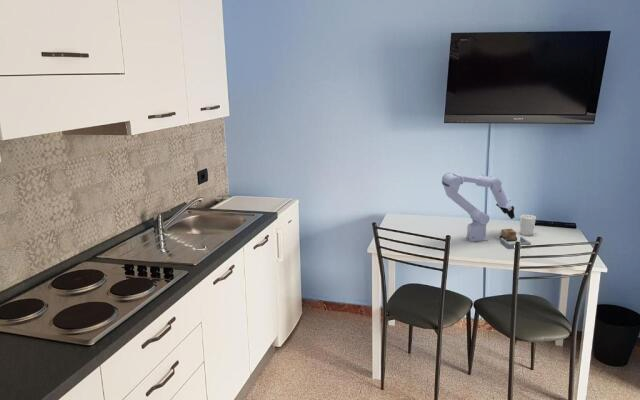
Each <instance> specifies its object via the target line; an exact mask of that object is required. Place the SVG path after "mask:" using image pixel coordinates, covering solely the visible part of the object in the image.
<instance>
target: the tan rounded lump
mask: <svg viewBox="0 0 640 400" xmlns="http://www.w3.org/2000/svg"><path fill="white" fill-rule="evenodd" d="M498 238H499V240H500V239H501V238H503V239H504V240H506V241H517V240H518V237H517V231H516V230H515V229H513V228H502V229H501V230H500V234H499V237H498Z"/></svg>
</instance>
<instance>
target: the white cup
mask: <svg viewBox="0 0 640 400" xmlns="http://www.w3.org/2000/svg"><path fill="white" fill-rule="evenodd" d="M536 220H537V217H536V216H535V215H532V214H521V215H520V220H519V229H520V231H519V234H520V235H522V236H532V235H534V230H535V224H536Z"/></svg>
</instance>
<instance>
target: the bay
mask: <svg viewBox="0 0 640 400" xmlns="http://www.w3.org/2000/svg"><path fill="white" fill-rule="evenodd" d="M499 241H500V244H502V245H503V246H504V247H505V248H507V249H509V250H512V249H514V245H515V243H516V242H515V243H514V242H513V243H512V242H511V243H509V242H508V240H504V239H503V238H501V239H500V238H499ZM520 241H521V242H520ZM519 242H520V243H521V245H532V243H531V242H530V241H528V240H527V239H526V238H525V237H523V236H520V240H519ZM514 250H515V249H514Z"/></svg>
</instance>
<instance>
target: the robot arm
mask: <svg viewBox="0 0 640 400" xmlns="http://www.w3.org/2000/svg"><path fill="white" fill-rule="evenodd" d="M464 183H470V184H475V185H476V186H477V187H482V188H489V189H490V191H491V194H492V196H493V197H494V199H495V201H496V205H495V206H497V207H498V208H499V209H500V211H502V213H503V214H504V215H507V216H508V217H509V219H511V220H513V219H514V218H516V217H515V207H514V206H513V205H511V204H510V201H511V198H509V197H507V195H506V193H505V191H504V189H503V187H502V180H500V179H499V178H496V177H494V176H491V175H490V176H486V175H485V174H480V175H476V176H473V175H468V174H463V173H456V172H452V173H451V172H446V173H444V174H443V175H442V179H441V184H442V186H443V189H444V192H445V194H446V196H447V197H448V198H449V199H451V201H453V202H454V203H455V204H456V205H458V206H459V207H460V208H461V209H463V210H464V211H465V212H467V214H468V215H469V216H470V219H471V220H472V222H471V223H468V224H467V227H466V229H467V230H466V238H467V239H469V240H470V241H471V242H481V241H484V242H485V241H489V239H488V238H487V236H486V235H487V234H486V233H487V224H489V222H490V215H489V214H487V213H485V212H483V211H482V210H480V209H478V208H477V207H475V206H474V204H472V203H471V202H470V201H468V200H467V199H466V198H464V197H463V195H461V194H460V193H459V189H460V187H461V185H463V184H464Z"/></svg>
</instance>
